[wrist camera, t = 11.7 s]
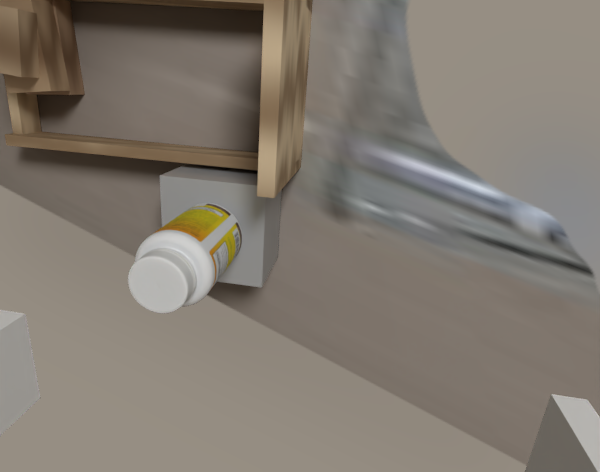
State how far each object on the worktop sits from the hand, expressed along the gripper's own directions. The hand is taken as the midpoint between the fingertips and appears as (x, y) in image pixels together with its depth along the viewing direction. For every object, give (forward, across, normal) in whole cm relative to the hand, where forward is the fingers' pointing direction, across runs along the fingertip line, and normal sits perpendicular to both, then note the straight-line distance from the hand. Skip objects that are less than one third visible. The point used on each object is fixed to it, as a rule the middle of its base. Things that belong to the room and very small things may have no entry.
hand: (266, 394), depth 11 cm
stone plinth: (+31, -10, -5) cm, 33 cm away
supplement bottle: (+24, -10, -5) cm, 26 cm away
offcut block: (+26, -28, +9) cm, 39 cm away
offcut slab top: (+29, -28, +9) cm, 41 cm away
